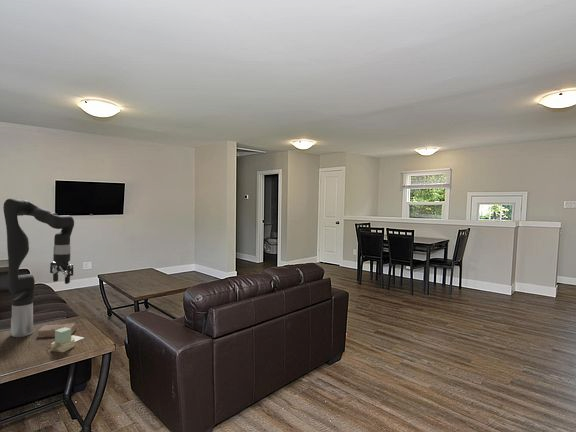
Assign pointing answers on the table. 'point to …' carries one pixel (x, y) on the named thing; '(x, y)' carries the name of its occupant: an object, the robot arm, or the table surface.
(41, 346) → the table surface
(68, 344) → the base block
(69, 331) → the green block
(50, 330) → the brick
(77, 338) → the page
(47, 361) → the table surface
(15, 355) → the table surface
